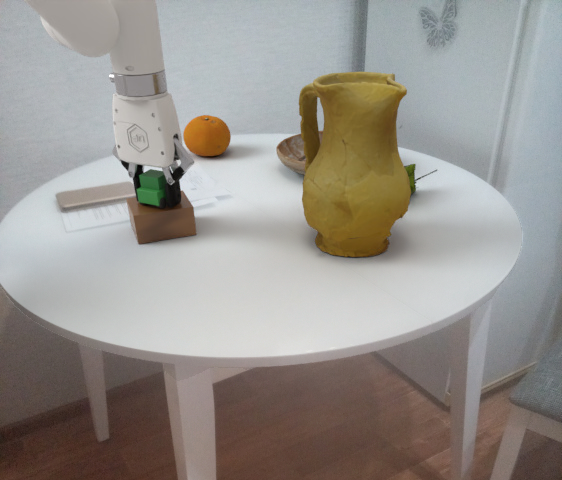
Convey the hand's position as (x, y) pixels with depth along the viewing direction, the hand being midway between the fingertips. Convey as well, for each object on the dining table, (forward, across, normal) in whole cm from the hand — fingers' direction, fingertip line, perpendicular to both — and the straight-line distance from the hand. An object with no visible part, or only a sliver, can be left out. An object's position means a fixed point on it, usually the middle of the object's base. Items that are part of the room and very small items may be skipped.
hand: (159, 200), depth 94 cm
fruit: (+5, -14, +39) cm, 41 cm away
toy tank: (+6, +36, +32) cm, 48 cm away
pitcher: (+5, +31, +10) cm, 33 cm away
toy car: (0, 0, 0) cm, 0 cm away
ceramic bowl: (+6, +16, +40) cm, 44 cm away
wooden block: (+5, 0, 0) cm, 5 cm away
